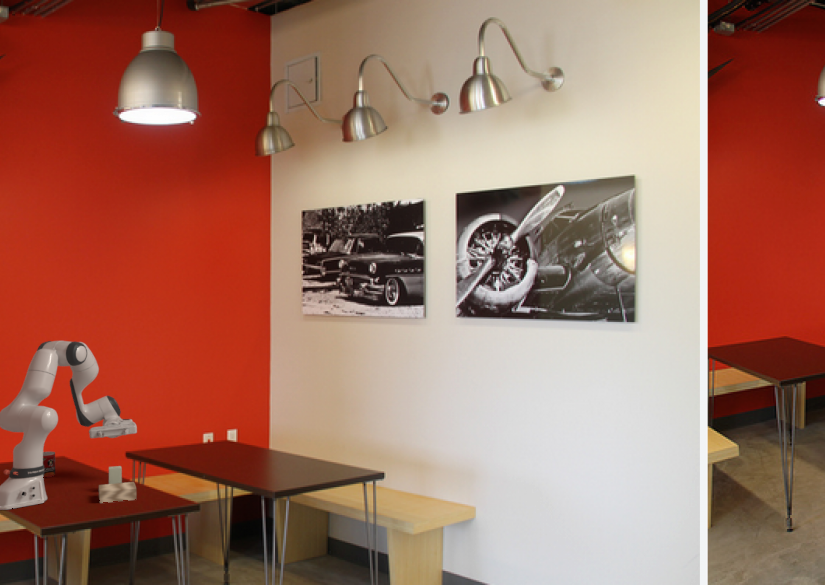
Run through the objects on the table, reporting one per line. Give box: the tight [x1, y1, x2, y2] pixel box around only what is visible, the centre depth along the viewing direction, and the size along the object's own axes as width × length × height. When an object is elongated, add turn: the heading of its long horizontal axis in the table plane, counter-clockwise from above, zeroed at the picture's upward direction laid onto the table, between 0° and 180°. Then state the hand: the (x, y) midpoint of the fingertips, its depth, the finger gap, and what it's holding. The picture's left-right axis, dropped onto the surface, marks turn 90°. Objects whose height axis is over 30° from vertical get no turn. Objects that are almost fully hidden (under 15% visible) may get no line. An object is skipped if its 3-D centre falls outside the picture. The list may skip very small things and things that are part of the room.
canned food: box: [43, 451, 56, 478], centre depth 379 cm, size 8×8×11 cm
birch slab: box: [98, 481, 137, 504], centre depth 331 cm, size 14×14×5 cm
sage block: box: [108, 465, 123, 484], centre depth 345 cm, size 5×5×10 cm
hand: (113, 434), depth 357 cm, fingers open, 8 cm apart
